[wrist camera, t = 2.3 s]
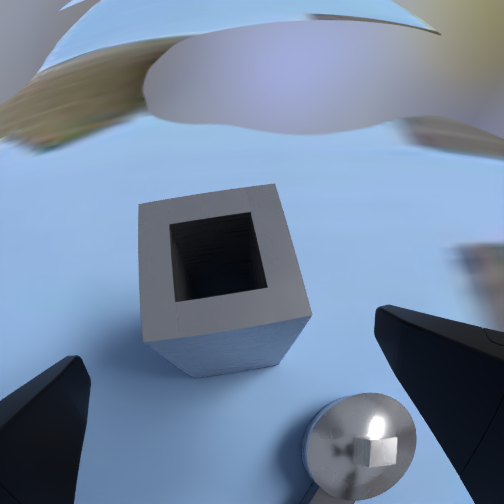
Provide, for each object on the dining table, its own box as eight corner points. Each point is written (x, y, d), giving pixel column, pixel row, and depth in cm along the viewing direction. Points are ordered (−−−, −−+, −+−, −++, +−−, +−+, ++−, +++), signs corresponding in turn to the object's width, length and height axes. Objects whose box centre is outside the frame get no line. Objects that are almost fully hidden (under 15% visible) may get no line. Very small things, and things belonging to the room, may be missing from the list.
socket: (278, 364, 18) (312, 315, 9) (194, 378, 17) (142, 342, 9) (261, 288, 20) (274, 183, 11) (184, 300, 20) (138, 204, 11)
